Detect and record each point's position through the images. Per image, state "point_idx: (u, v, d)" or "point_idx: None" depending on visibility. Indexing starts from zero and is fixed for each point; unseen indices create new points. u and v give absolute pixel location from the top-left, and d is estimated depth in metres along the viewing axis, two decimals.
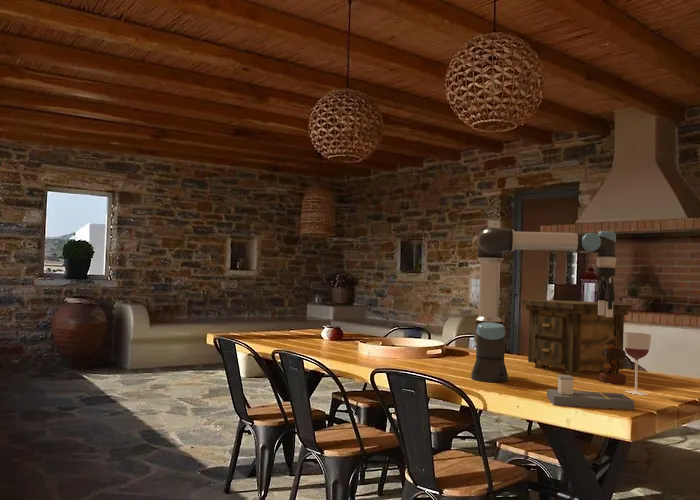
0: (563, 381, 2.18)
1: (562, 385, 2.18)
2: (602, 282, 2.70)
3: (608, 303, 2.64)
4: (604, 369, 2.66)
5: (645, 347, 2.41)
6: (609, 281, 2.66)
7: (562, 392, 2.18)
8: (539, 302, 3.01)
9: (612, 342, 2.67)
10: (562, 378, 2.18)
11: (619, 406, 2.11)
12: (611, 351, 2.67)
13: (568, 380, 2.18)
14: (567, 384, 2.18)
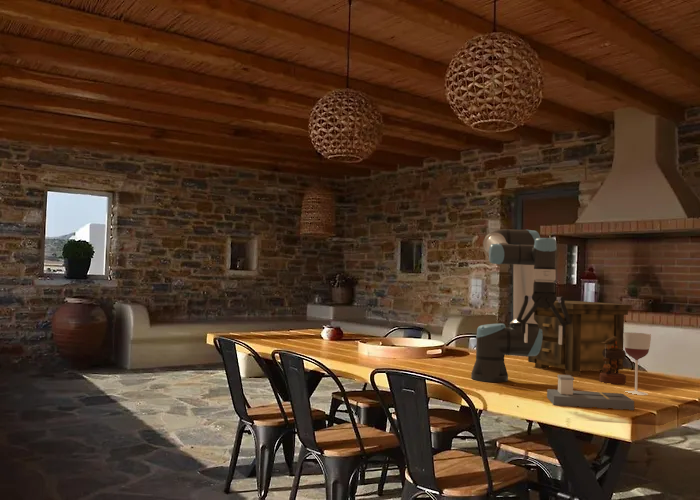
0: (563, 381, 2.18)
1: (562, 385, 2.18)
2: None
3: None
4: (604, 369, 2.66)
5: (645, 347, 2.41)
6: (524, 299, 2.25)
7: (562, 392, 2.18)
8: None
9: (612, 342, 2.67)
10: (562, 378, 2.18)
11: (619, 406, 2.11)
12: (611, 351, 2.67)
13: (568, 380, 2.18)
14: (567, 384, 2.18)
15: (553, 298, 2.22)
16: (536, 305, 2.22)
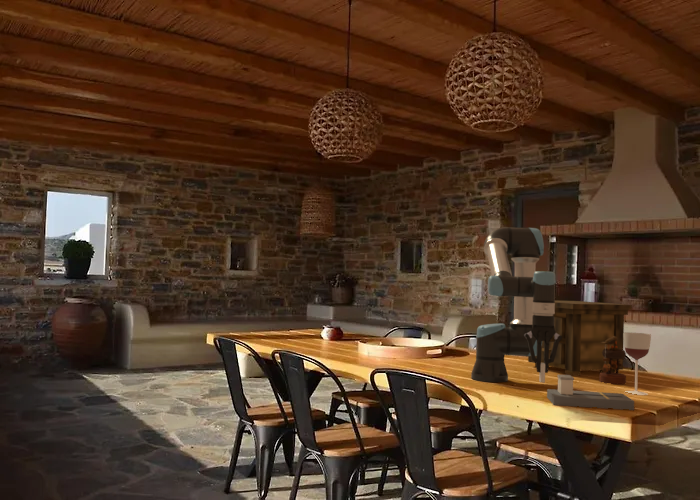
0: (563, 381, 2.18)
1: (562, 385, 2.18)
2: None
3: None
4: (604, 369, 2.66)
5: (645, 347, 2.41)
6: (526, 338, 2.24)
7: (562, 392, 2.18)
8: None
9: (612, 342, 2.67)
10: (562, 378, 2.18)
11: (619, 406, 2.11)
12: (611, 351, 2.67)
13: (568, 380, 2.18)
14: (567, 384, 2.18)
15: (552, 332, 2.21)
16: (539, 340, 2.21)
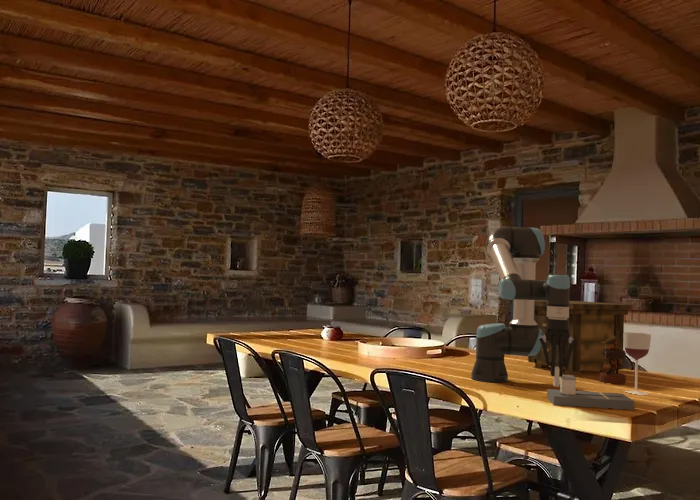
0: (565, 381, 2.18)
1: (564, 385, 2.18)
2: None
3: None
4: (604, 369, 2.66)
5: (645, 347, 2.41)
6: (540, 342, 2.23)
7: (564, 392, 2.18)
8: (539, 302, 3.01)
9: (612, 342, 2.67)
10: (564, 378, 2.18)
11: (619, 406, 2.11)
12: (611, 351, 2.67)
13: (570, 380, 2.18)
14: (569, 384, 2.18)
15: (566, 335, 2.21)
16: (554, 344, 2.20)
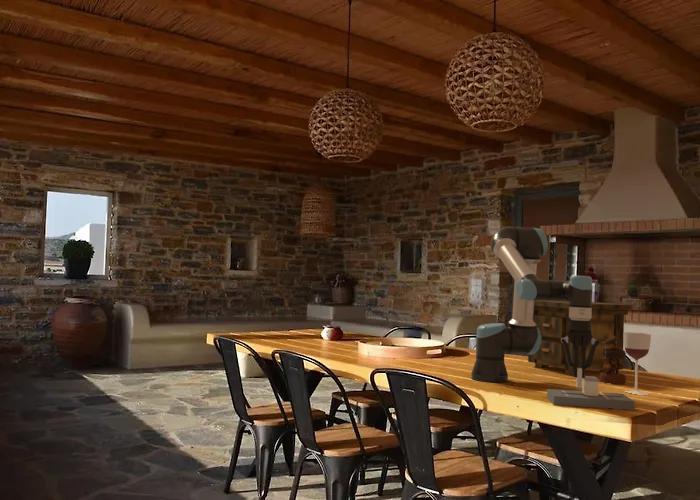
0: (588, 382, 2.17)
1: (587, 387, 2.17)
2: None
3: None
4: (604, 369, 2.66)
5: (645, 347, 2.41)
6: (562, 343, 2.22)
7: (587, 394, 2.17)
8: (539, 302, 3.01)
9: (612, 342, 2.67)
10: (587, 379, 2.17)
11: (619, 406, 2.11)
12: (611, 351, 2.67)
13: (593, 381, 2.17)
14: (592, 385, 2.17)
15: (589, 337, 2.19)
16: (576, 345, 2.19)
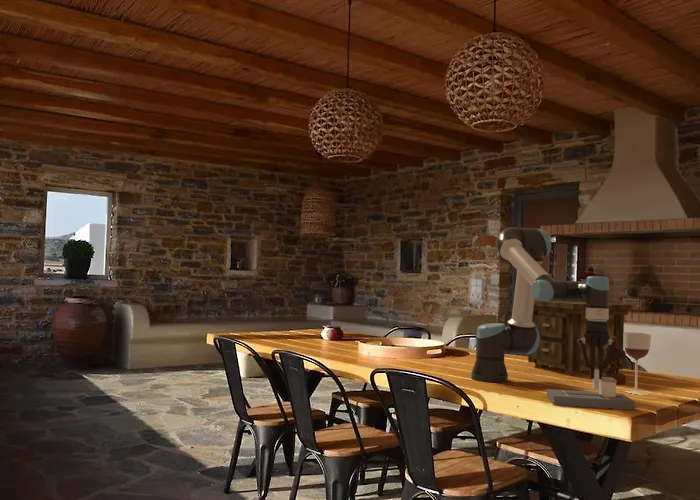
0: (606, 383, 2.16)
1: (605, 388, 2.16)
2: None
3: None
4: (604, 369, 2.66)
5: (645, 347, 2.41)
6: (579, 343, 2.21)
7: (605, 395, 2.16)
8: (539, 302, 3.01)
9: None
10: (605, 380, 2.16)
11: (619, 406, 2.11)
12: None
13: (611, 382, 2.16)
14: (610, 387, 2.16)
15: (606, 337, 2.19)
16: (593, 346, 2.18)
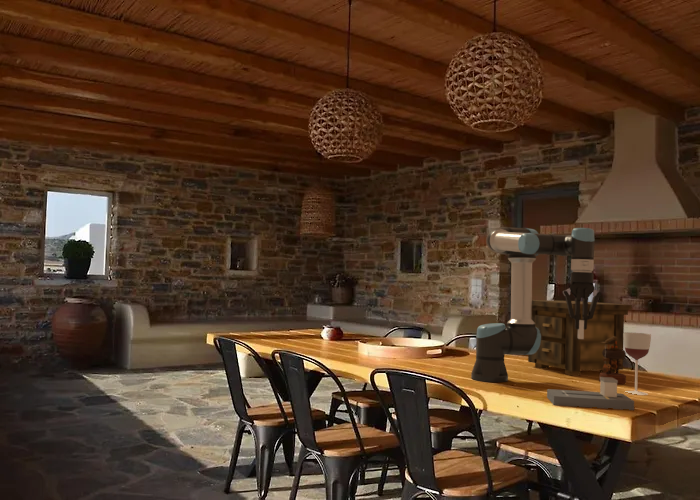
0: (607, 384, 2.16)
1: (606, 388, 2.16)
2: None
3: None
4: (604, 369, 2.66)
5: (645, 347, 2.41)
6: (564, 295, 2.23)
7: (606, 395, 2.16)
8: (539, 302, 3.01)
9: (612, 342, 2.67)
10: (606, 381, 2.16)
11: (619, 406, 2.11)
12: (611, 351, 2.67)
13: (612, 383, 2.16)
14: (611, 387, 2.16)
15: (591, 288, 2.21)
16: (578, 297, 2.20)
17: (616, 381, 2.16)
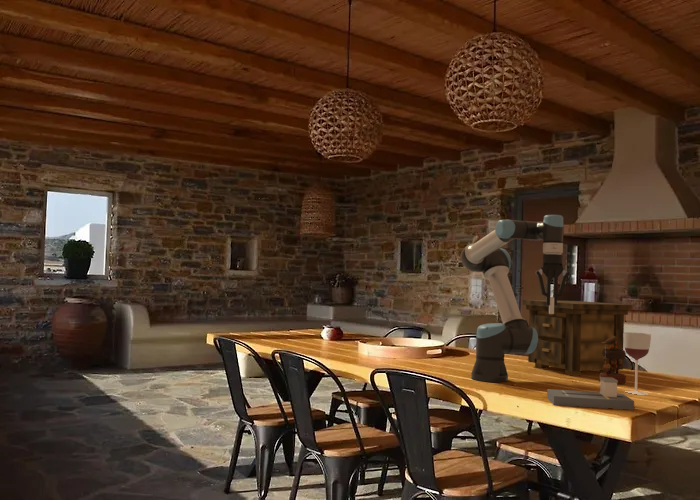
0: (607, 384, 2.16)
1: (606, 388, 2.16)
2: None
3: None
4: (604, 369, 2.66)
5: (645, 347, 2.41)
6: (537, 275, 2.49)
7: (606, 395, 2.16)
8: (539, 302, 3.01)
9: (612, 342, 2.67)
10: (606, 381, 2.16)
11: (619, 406, 2.11)
12: (611, 351, 2.67)
13: (612, 383, 2.16)
14: (611, 387, 2.16)
15: (560, 269, 2.47)
16: (549, 276, 2.47)
17: (616, 381, 2.16)
